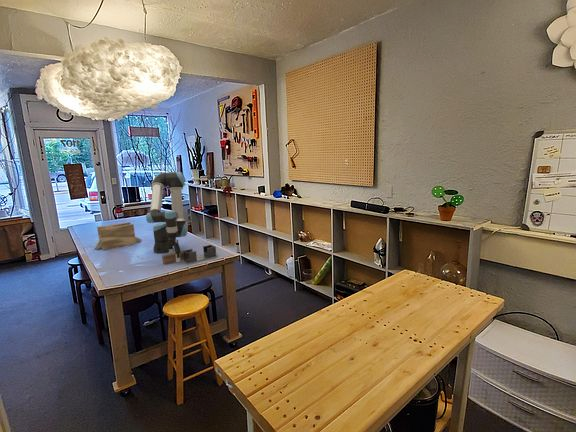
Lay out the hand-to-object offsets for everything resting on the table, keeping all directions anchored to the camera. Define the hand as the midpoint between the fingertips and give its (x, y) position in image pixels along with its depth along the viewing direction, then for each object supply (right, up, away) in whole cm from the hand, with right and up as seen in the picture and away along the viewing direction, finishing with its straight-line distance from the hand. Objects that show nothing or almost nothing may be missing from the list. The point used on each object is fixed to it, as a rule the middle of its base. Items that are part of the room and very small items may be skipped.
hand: (175, 259), depth 228 cm
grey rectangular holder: (+18, 0, +4) cm, 18 cm away
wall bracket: (-67, +6, +45) cm, 81 cm away
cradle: (-68, +6, +45) cm, 82 cm away
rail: (0, -1, +1) cm, 1 cm away
